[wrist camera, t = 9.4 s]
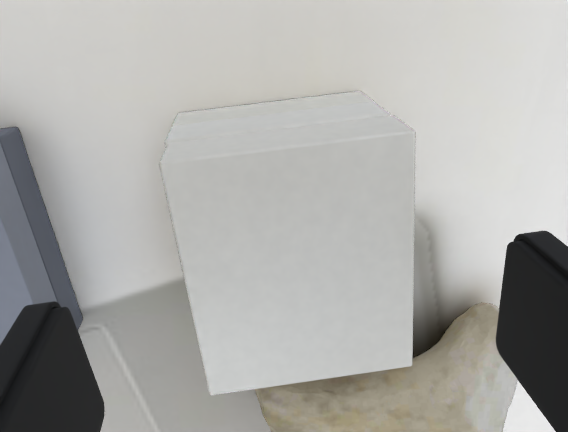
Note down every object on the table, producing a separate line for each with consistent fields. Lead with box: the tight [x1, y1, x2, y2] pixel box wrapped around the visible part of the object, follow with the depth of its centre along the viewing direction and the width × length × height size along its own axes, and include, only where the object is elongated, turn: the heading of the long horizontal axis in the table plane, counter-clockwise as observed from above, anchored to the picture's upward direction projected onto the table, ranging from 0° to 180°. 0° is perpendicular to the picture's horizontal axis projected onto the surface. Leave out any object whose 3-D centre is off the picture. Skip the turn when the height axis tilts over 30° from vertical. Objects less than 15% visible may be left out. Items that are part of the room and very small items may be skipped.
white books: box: [165, 91, 390, 148], centre depth 17 cm, size 8×6×4 cm
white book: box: [159, 115, 416, 395], centre depth 14 cm, size 8×6×2 cm
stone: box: [255, 302, 518, 432], centre depth 20 cm, size 11×6×5 cm, turn 106°
